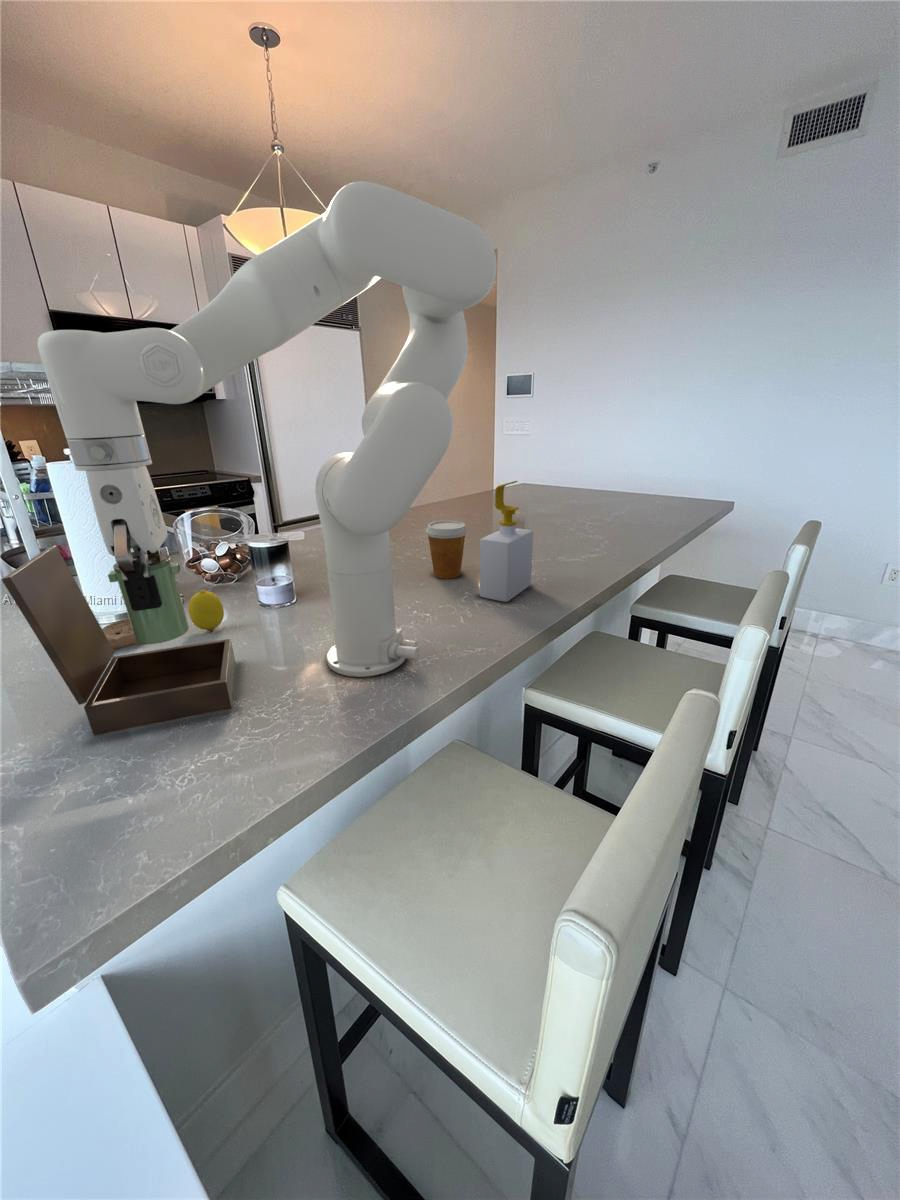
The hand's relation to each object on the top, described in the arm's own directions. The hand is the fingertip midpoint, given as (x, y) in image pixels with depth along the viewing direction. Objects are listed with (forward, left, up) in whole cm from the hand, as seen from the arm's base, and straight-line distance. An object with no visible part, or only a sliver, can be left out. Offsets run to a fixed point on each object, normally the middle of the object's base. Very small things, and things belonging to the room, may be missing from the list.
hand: (152, 597), depth 63 cm
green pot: (0, 0, -5) cm, 5 cm away
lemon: (+12, -19, -15) cm, 27 cm away
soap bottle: (-34, -55, -15) cm, 66 cm away
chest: (0, 0, -15) cm, 15 cm away
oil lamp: (+22, -11, -15) cm, 29 cm away
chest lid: (+7, +6, -2) cm, 9 cm away
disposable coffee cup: (-18, -62, -15) cm, 66 cm away
